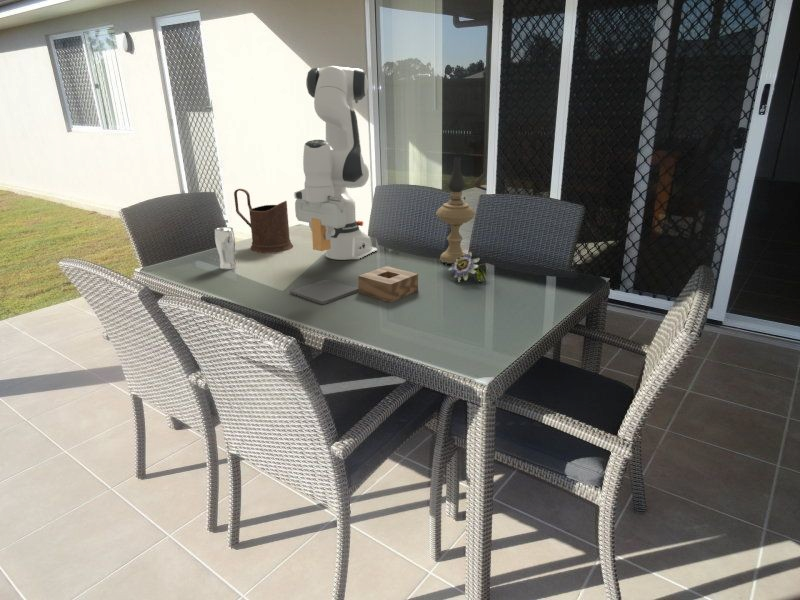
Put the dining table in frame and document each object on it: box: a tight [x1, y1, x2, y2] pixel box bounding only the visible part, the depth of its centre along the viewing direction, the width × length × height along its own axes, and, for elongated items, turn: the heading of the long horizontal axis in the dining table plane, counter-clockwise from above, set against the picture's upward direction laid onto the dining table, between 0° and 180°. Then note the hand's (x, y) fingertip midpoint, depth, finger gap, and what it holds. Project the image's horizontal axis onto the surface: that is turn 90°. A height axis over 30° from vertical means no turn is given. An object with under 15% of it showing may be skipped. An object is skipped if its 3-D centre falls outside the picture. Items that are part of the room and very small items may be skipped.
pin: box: [311, 218, 331, 252], centre depth 171 cm, size 4×4×10 cm
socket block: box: [357, 265, 419, 303], centre depth 177 cm, size 14×14×6 cm
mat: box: [289, 278, 359, 306], centre depth 178 cm, size 16×16×1 cm
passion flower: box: [447, 251, 488, 282], centre depth 189 cm, size 11×11×12 cm
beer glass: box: [214, 226, 237, 271], centre depth 203 cm, size 7×7×15 cm
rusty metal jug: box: [233, 188, 294, 254], centre depth 229 cm, size 18×24×25 cm
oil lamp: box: [435, 156, 476, 263], centre depth 205 cm, size 15×15×40 cm
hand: (321, 238), depth 171 cm, fingers closed on pin, 4 cm apart
